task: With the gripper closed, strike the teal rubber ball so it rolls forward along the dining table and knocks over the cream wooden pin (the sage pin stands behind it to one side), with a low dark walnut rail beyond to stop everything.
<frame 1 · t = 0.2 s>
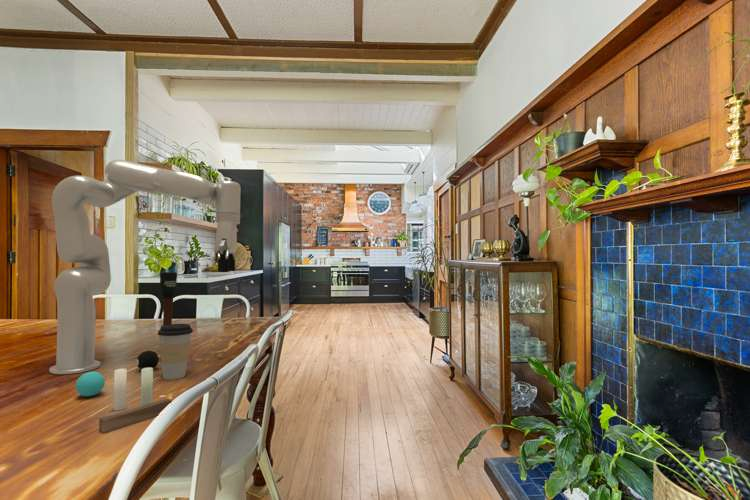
hand: (226, 271, 129), 31 cm above the table, tool pointing down, fingers open, 9 cm apart
coffee cup: (174, 377, 117), on the table
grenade: (166, 360, 135), on the table
walnut rail: (137, 420, 86), on the table
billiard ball: (147, 371, 123), on the table
sage pin: (146, 407, 93), on the table
ball: (90, 383, 100), on the table
cream pin: (119, 408, 92), on the table
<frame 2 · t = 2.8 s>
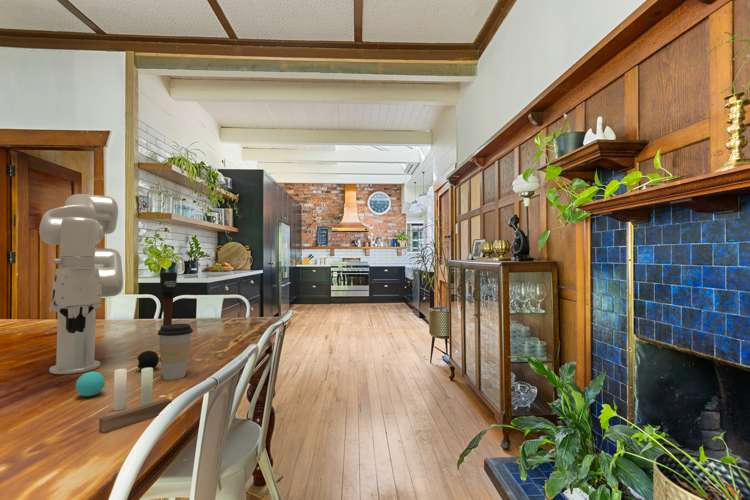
hand: (75, 331, 105), 15 cm above the table, tool pointing down, fingers closed
nothing on the table moved.
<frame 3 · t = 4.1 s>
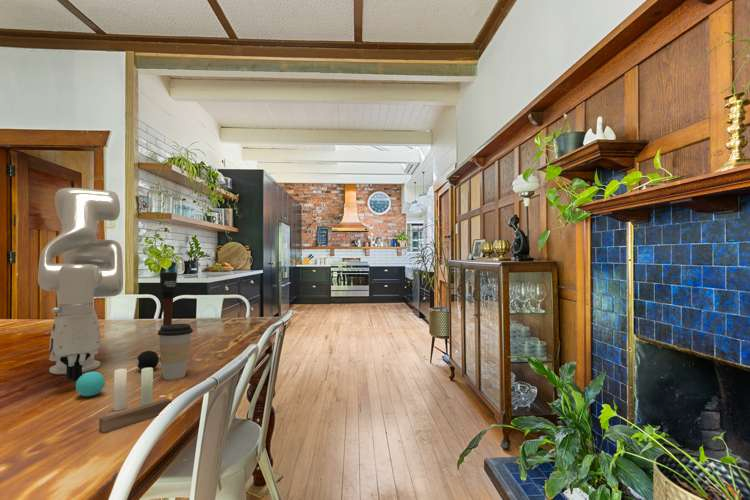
hand: (74, 380, 104), 2 cm above the table, tool pointing down, fingers closed
nothing on the table moved.
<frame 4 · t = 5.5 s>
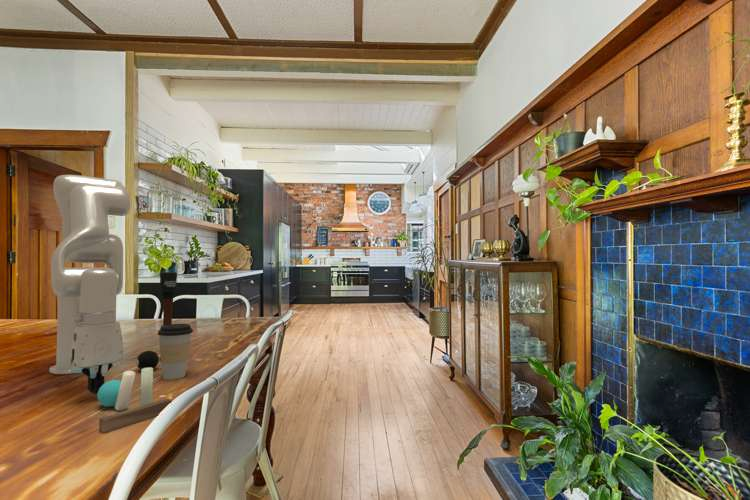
hand: (95, 392, 98), 2 cm above the table, tool pointing down, fingers closed
ball: (112, 393, 93), on the table
cream pin: (120, 407, 92), on the table, tilted 22°
everything else where it was.
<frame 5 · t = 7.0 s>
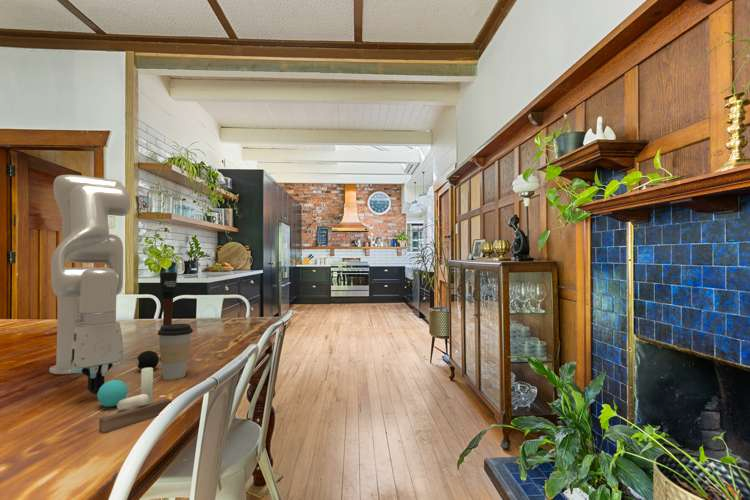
hand: (95, 392, 98), 2 cm above the table, tool pointing down, fingers closed
cream pin: (122, 404, 91), point 1 cm above the table, tilted 71°, touching walnut rail
everything else where it was.
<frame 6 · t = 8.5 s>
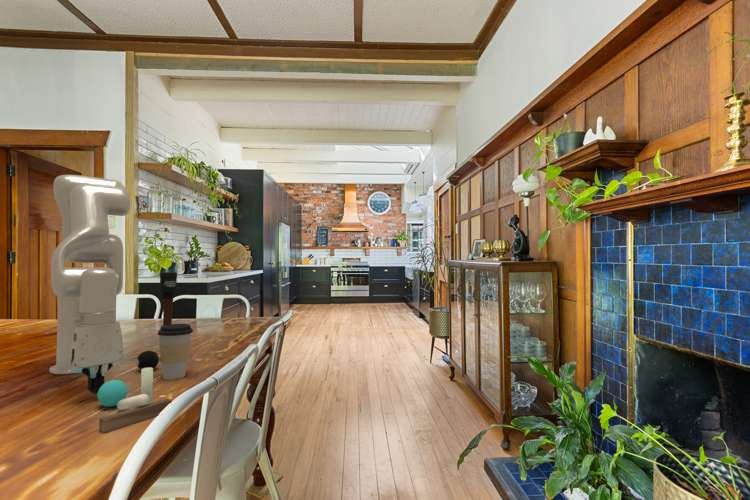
hand: (95, 392, 98), 2 cm above the table, tool pointing down, fingers closed
nothing on the table moved.
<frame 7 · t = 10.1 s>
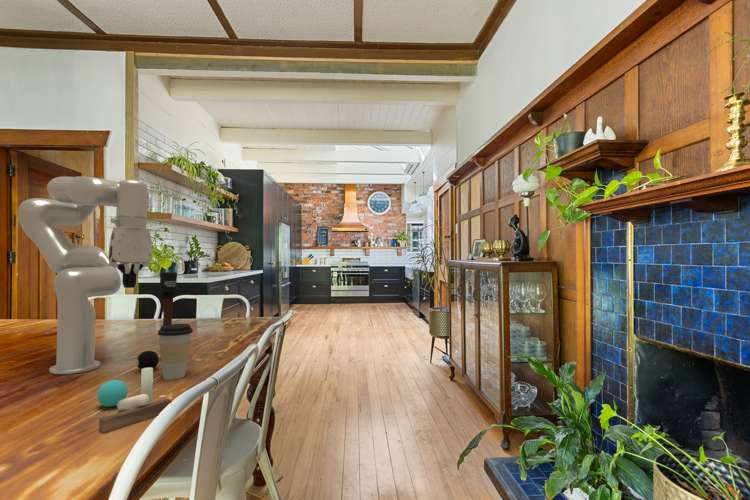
hand: (129, 287, 113), 27 cm above the table, tool pointing down, fingers closed
nothing on the table moved.
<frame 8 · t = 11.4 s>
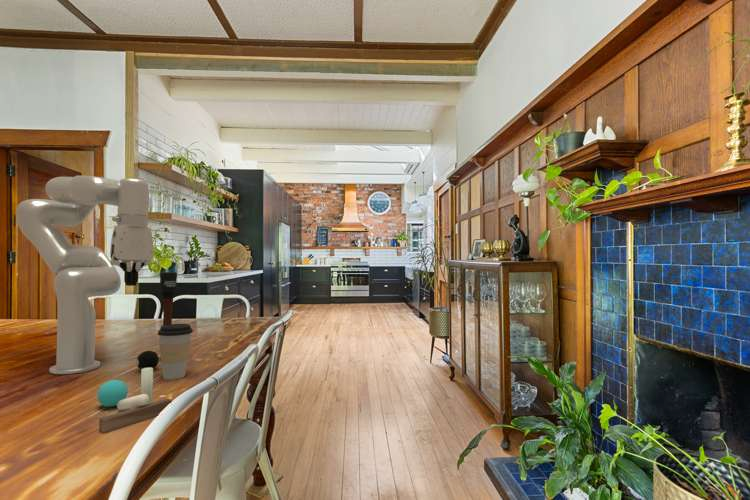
hand: (131, 285, 114), 27 cm above the table, tool pointing down, fingers closed
nothing on the table moved.
at the end: cream pin tilted 71°; cream pin never touched the robot; ball moved 11.8 cm from its start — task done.
